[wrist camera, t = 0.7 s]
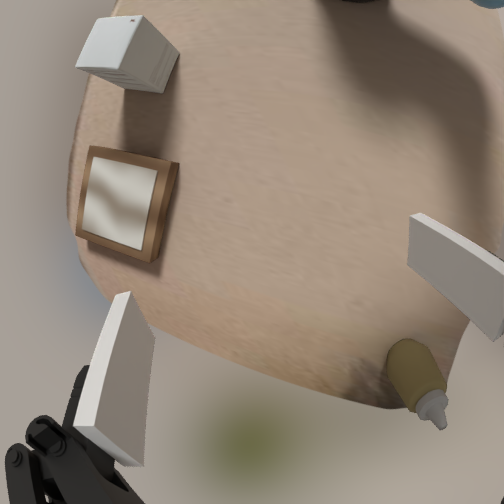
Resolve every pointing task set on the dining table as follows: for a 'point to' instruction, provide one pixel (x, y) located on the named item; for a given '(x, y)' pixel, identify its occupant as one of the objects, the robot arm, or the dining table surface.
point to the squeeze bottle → (418, 380)
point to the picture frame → (125, 201)
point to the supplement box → (128, 54)
